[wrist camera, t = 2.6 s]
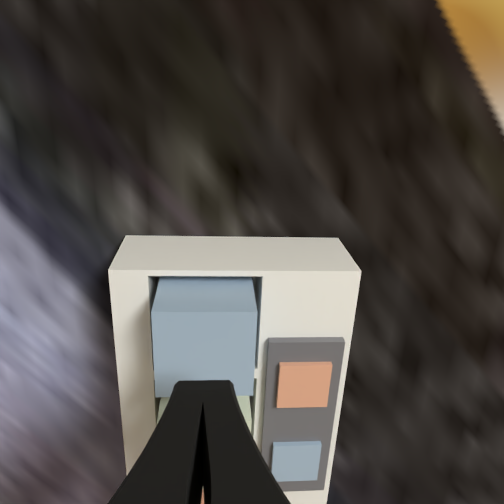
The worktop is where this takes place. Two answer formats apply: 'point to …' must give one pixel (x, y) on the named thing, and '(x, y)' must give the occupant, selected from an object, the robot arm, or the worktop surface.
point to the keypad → (267, 342)
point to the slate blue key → (204, 331)
